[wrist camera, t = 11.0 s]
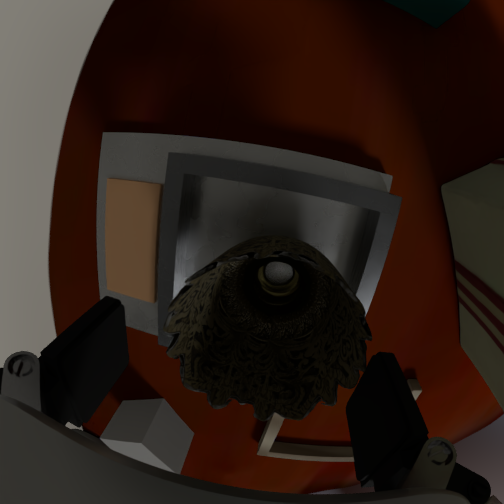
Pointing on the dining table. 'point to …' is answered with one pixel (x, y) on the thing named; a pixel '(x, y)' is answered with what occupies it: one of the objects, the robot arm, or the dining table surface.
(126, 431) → the white cube
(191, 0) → the dining table surface
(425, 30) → the dining table surface
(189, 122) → the dining table surface
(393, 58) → the dining table surface
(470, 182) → the gift box
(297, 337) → the cup
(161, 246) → the grey flat rectangular tray
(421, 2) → the bracket
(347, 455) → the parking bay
